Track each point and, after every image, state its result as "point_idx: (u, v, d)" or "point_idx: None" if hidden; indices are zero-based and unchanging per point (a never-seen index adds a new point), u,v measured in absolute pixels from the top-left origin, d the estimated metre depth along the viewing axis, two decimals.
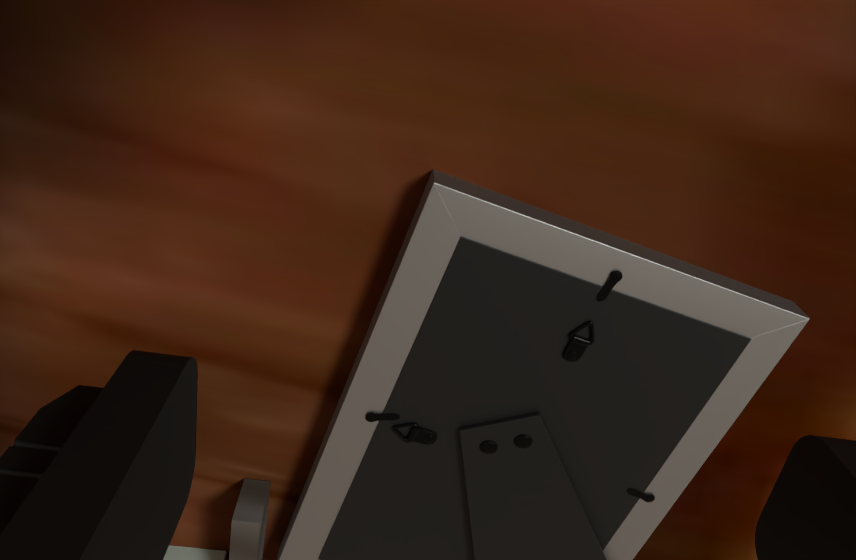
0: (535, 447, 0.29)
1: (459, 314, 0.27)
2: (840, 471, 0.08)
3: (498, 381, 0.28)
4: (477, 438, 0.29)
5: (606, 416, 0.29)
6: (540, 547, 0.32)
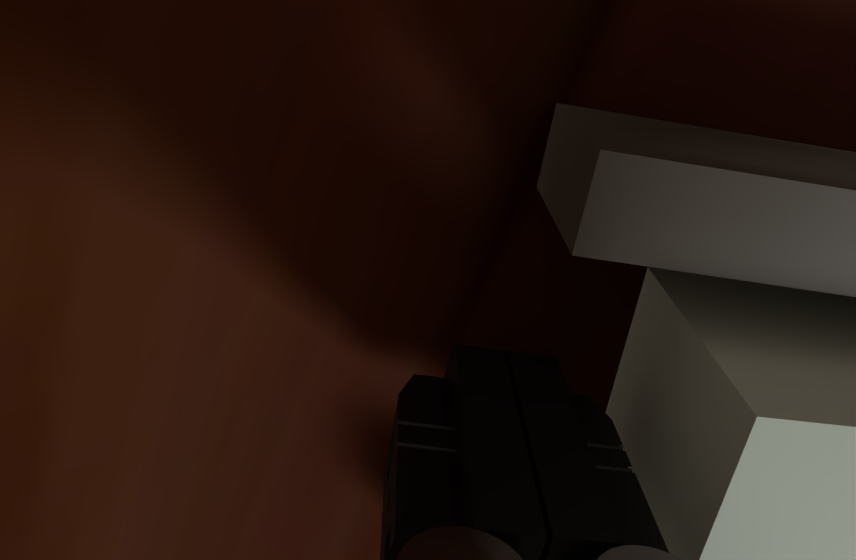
0: None
1: None
2: (512, 378, 0.09)
3: None
4: None
5: None
6: None
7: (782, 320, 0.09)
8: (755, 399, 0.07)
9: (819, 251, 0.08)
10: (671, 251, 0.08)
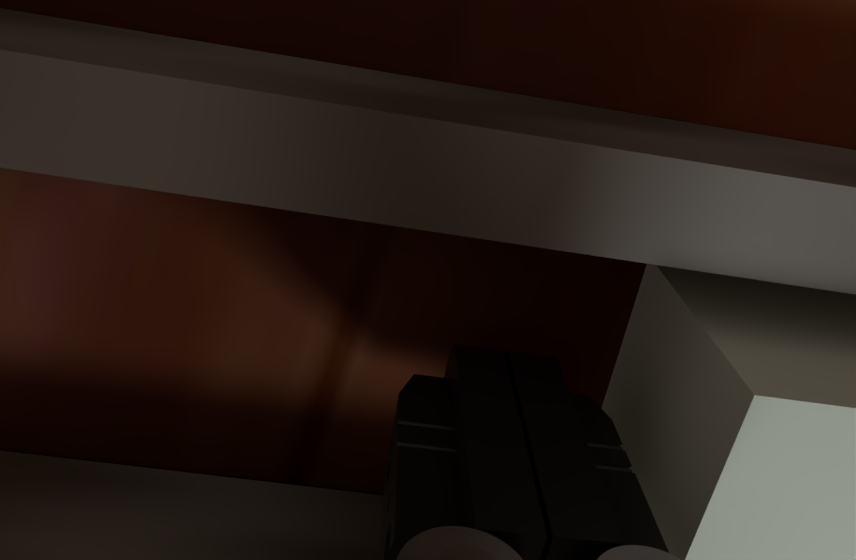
0: None
1: None
2: (512, 378, 0.09)
3: None
4: None
5: None
6: None
7: (781, 306, 0.10)
8: (753, 378, 0.07)
9: None
10: None
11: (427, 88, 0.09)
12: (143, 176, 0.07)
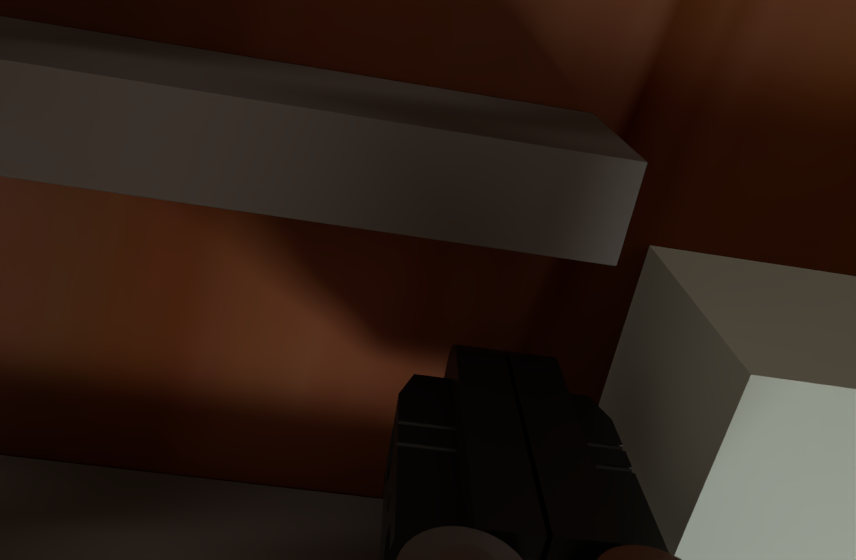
0: None
1: None
2: (512, 378, 0.09)
3: None
4: None
5: None
6: None
7: (777, 291, 0.10)
8: (749, 360, 0.08)
9: None
10: None
11: None
12: None
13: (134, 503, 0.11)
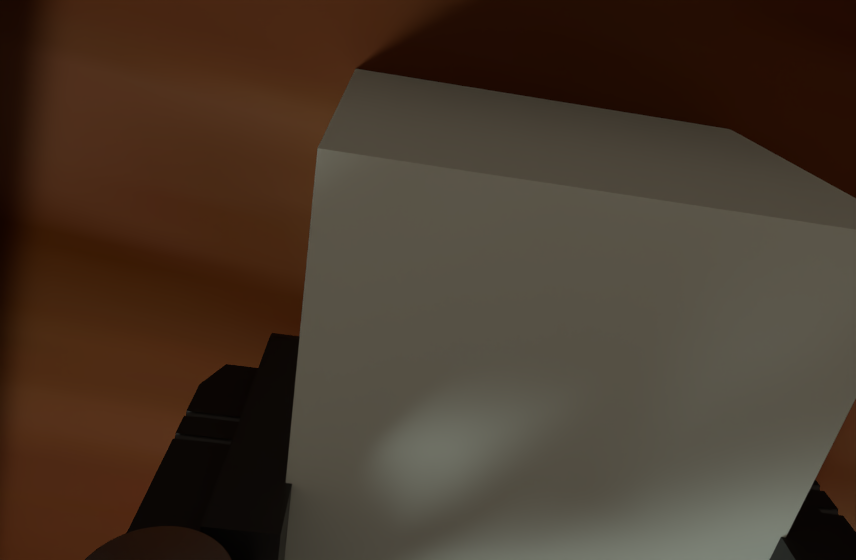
0: None
1: None
2: None
3: None
4: None
5: None
6: None
7: None
8: None
9: None
10: None
11: None
12: None
13: None
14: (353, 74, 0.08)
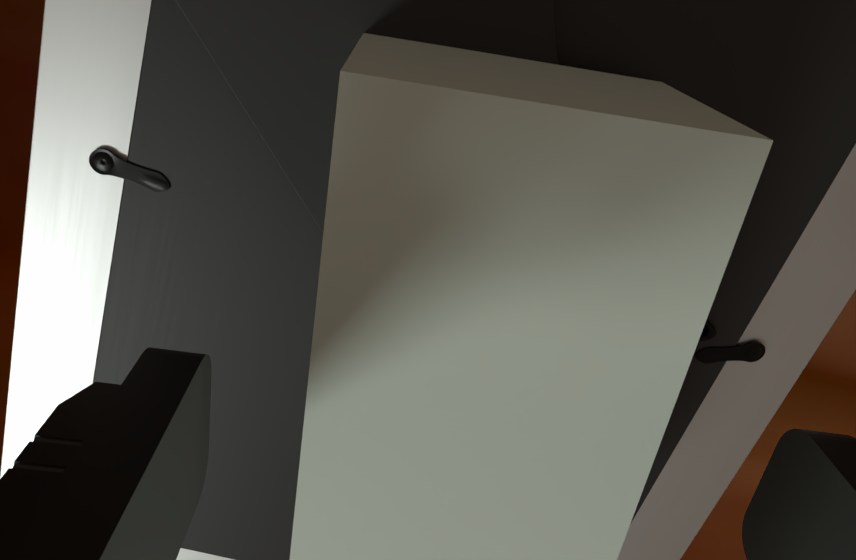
0: None
1: None
2: (824, 464, 0.08)
3: None
4: None
5: (280, 373, 0.14)
6: None
7: None
8: (756, 144, 0.08)
9: None
10: None
11: None
12: None
13: None
14: (362, 35, 0.11)
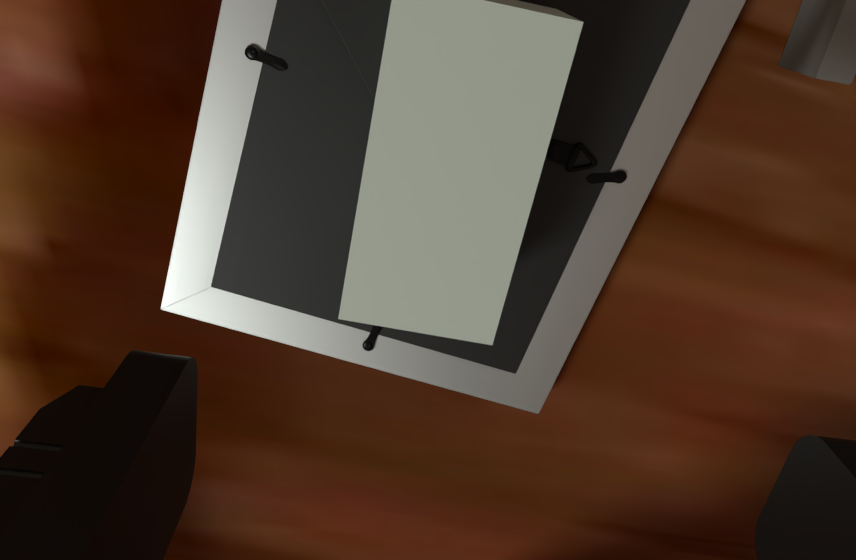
0: None
1: (517, 303, 0.27)
2: (840, 471, 0.08)
3: None
4: None
5: (342, 185, 0.25)
6: None
7: None
8: (579, 26, 0.19)
9: None
10: None
11: None
12: None
13: None
14: None
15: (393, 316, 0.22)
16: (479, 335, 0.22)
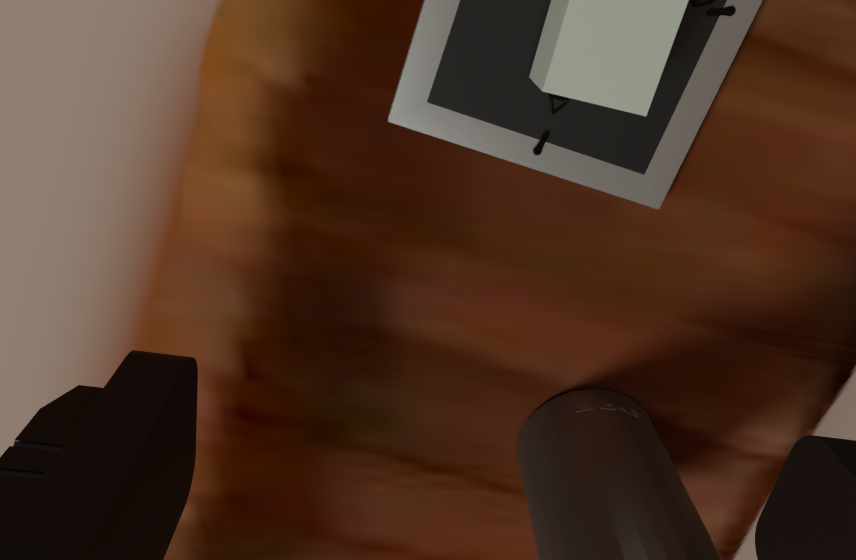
0: None
1: (649, 114, 0.36)
2: (840, 471, 0.08)
3: None
4: None
5: (531, 19, 0.34)
6: None
7: None
8: None
9: None
10: None
11: None
12: None
13: None
14: None
15: (580, 90, 0.31)
16: (638, 108, 0.32)
